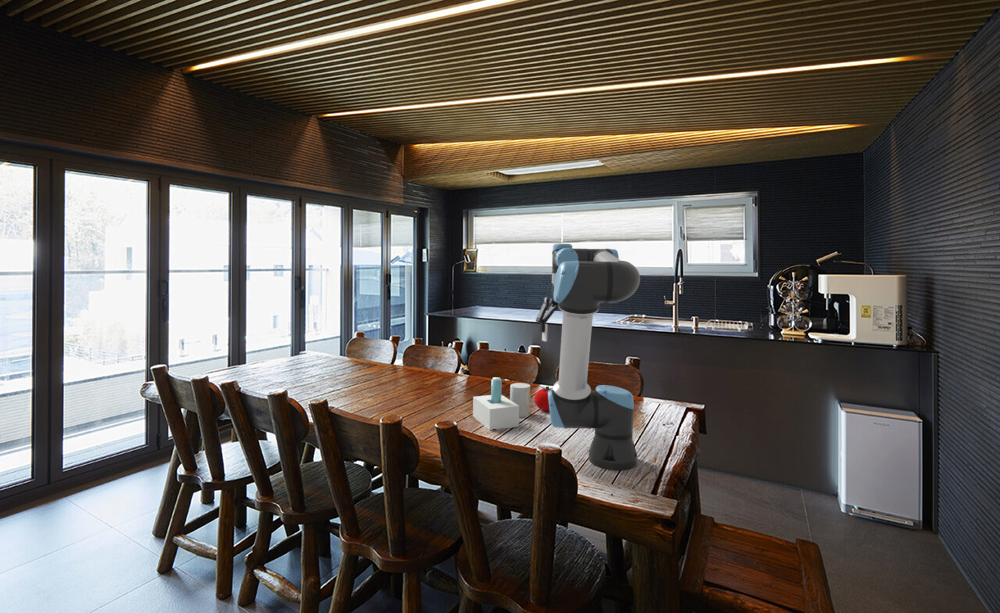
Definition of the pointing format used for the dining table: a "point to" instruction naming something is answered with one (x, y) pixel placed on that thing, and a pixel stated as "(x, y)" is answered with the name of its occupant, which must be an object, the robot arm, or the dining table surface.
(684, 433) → the dining table surface
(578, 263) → the robot arm
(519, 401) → the white cylinder
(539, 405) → the tomato
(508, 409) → the socket
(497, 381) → the peg
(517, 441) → the dining table surface
